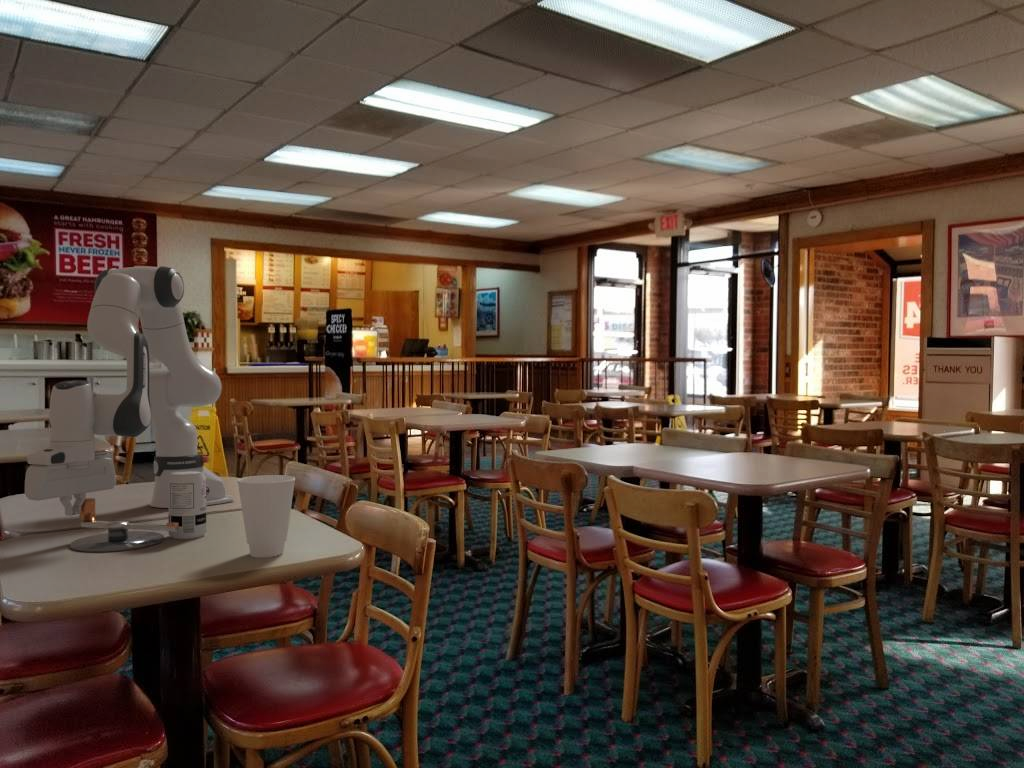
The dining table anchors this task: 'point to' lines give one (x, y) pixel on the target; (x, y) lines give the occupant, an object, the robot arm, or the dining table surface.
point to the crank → (89, 521)
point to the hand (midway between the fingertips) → (73, 514)
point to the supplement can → (187, 504)
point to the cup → (266, 512)
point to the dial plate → (117, 541)
